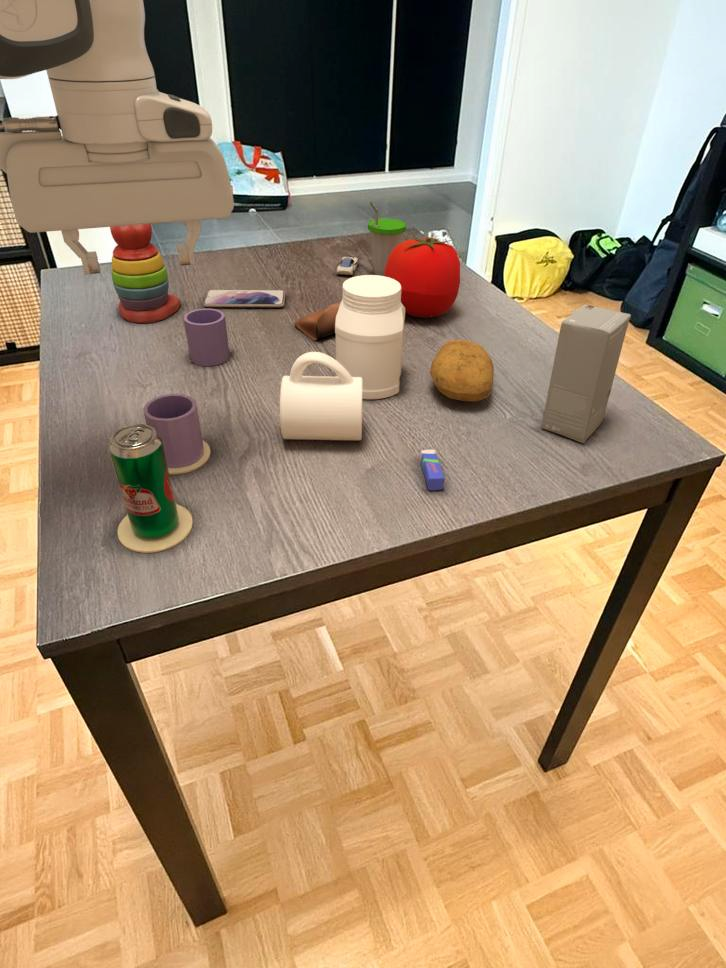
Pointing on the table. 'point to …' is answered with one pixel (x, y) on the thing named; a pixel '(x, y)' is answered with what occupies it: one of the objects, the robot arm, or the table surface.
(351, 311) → the jar
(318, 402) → the mug
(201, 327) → the purple hollow cylinder
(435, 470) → the eraser
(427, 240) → the tomato
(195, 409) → the purple tumbler
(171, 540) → the coasters
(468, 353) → the potato
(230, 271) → the table surface
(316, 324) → the sunglasses case
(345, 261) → the toy car
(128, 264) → the stacking bear
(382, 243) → the cup
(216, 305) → the smartphone
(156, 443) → the soda can
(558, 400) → the cosmetic box
